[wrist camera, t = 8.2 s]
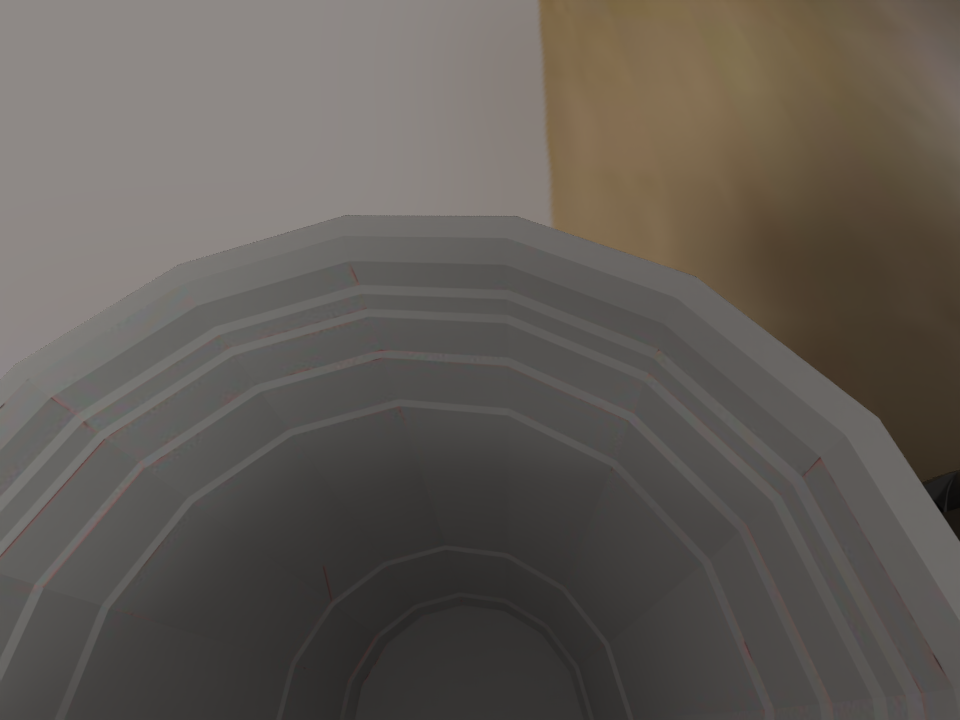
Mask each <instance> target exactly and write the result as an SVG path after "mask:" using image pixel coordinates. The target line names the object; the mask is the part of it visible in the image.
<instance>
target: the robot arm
mask: <svg viewBox="0 0 960 720" xmlns="http://www.w3.org/2000/svg"><path fill="white" fill-rule="evenodd" d="M922 485H923V486H924V488H925V489H926V491H927V492H928V494H929V495H930V497H931V499H932V500H933V502H934V503H935V505H936V506H937V508H938V509H939V511H940V512H941V514H942V515H943V517H944V518H945V520H946V521H947V523H948V524H949V526H950V528H951V529H952V531H953V532H954V534H955V535H956V537H957V538H958V540H959V541H960V470H958V471H954V472H950V473H947V474H944V475H940V476H937V477H934V478H932V479H930V480H927V481H925V482H923V483H922Z"/></svg>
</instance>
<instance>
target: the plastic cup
mask: <svg viewBox="0 0 960 720" xmlns="http://www.w3.org/2000/svg"><path fill="white" fill-rule="evenodd" d="M0 720H960V541H959V540H958V538H957V537H956V535H955V534H954V532H953V531H952V529H951V528H950V526H949V524H948V523H947V521H946V520H945V518H944V517H943V515H942V514H941V512H940V511H939V509H938V508H937V506H936V505H935V503H934V502H933V500H932V499H931V497H930V495H929V494H928V492H927V491H926V489H925V488H924V486H923V485H922V483H921V482H920V480H919V479H918V477H917V476H916V474H915V473H914V471H913V470H912V468H911V466H910V465H909V463H908V462H907V460H906V459H905V457H904V456H903V454H902V453H901V451H900V450H899V448H898V447H897V445H896V444H895V442H894V441H893V439H892V437H891V436H890V434H889V433H888V431H887V430H886V428H885V427H884V425H883V424H882V422H881V421H880V419H879V418H878V417H877V416H875V415H874V414H873V413H871V412H870V411H869V410H868V409H866V408H865V407H864V406H862V405H861V404H860V403H859V402H857V401H856V400H855V399H853V398H852V397H851V396H849V395H848V394H847V393H846V392H844V391H843V390H842V389H840V388H839V387H838V386H837V385H835V384H834V383H833V382H831V381H830V380H829V379H828V378H826V377H825V376H824V375H822V374H821V373H820V372H818V371H817V370H816V369H815V368H813V367H812V366H811V365H809V364H808V363H807V362H806V361H804V360H803V359H802V358H800V357H799V356H798V355H796V354H795V353H794V352H793V351H791V350H790V349H789V348H787V347H786V346H785V345H784V344H782V343H781V342H780V341H778V340H777V339H776V338H775V337H773V336H772V335H771V334H769V333H768V332H767V331H765V330H764V329H763V328H762V327H760V326H759V325H758V324H756V323H755V322H754V321H753V320H751V319H750V318H749V317H747V316H746V315H745V314H744V313H742V312H741V311H740V310H738V309H737V308H736V307H734V306H733V305H732V304H731V303H729V302H728V301H727V300H725V299H724V298H723V297H722V296H720V295H719V294H718V293H716V292H715V291H714V290H713V289H711V288H710V287H709V286H707V285H706V284H705V283H703V282H702V281H701V280H700V279H698V278H697V277H696V276H693V275H690V274H687V273H684V272H681V271H678V270H675V269H672V268H669V267H666V266H663V265H660V264H657V263H654V262H651V261H648V260H645V259H642V258H639V257H636V256H633V255H630V254H627V253H624V252H621V251H618V250H615V249H612V248H610V247H607V246H604V245H601V244H598V243H595V242H592V241H589V240H586V239H583V238H580V237H577V236H574V235H571V234H568V233H565V232H562V231H559V230H556V229H553V228H550V227H547V226H544V225H541V224H538V223H535V222H532V221H529V220H526V219H523V218H520V217H517V216H360V215H354V216H353V215H351V216H350V215H345V216H342V217H338V218H335V219H331V220H328V221H325V222H321V223H318V224H315V225H311V226H308V227H304V228H301V229H297V230H294V231H291V232H287V233H284V234H281V235H277V236H274V237H271V238H267V239H264V240H260V241H257V242H253V243H250V244H247V245H244V246H240V247H237V248H233V249H230V250H227V251H223V252H220V253H216V254H213V255H209V256H206V257H203V258H199V259H196V260H193V261H189V262H186V263H183V264H179V265H177V266H176V267H174V268H173V269H171V270H169V271H167V272H166V273H164V274H163V275H161V276H159V277H158V278H156V279H154V280H153V281H151V282H149V283H148V284H146V285H144V286H143V287H141V288H140V289H138V290H136V291H135V292H133V293H131V294H130V295H128V296H126V297H125V298H123V299H122V300H120V301H118V302H117V303H115V304H113V305H112V306H110V307H108V308H107V309H105V310H103V311H102V312H100V313H99V314H97V315H95V316H94V317H92V318H90V319H89V320H87V321H86V322H84V323H82V324H81V325H79V326H77V327H76V328H74V329H73V330H71V331H69V332H67V333H66V334H64V335H63V336H61V337H59V338H58V339H56V340H54V341H53V342H51V343H49V344H48V345H46V346H45V347H43V348H41V349H40V350H38V351H36V352H35V353H33V354H31V355H30V356H28V357H27V358H25V359H23V360H22V361H20V362H18V363H17V364H15V365H14V366H13V367H12V368H11V369H10V370H9V371H8V372H7V373H6V374H5V375H4V376H3V377H2V378H1V379H0Z"/></svg>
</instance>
